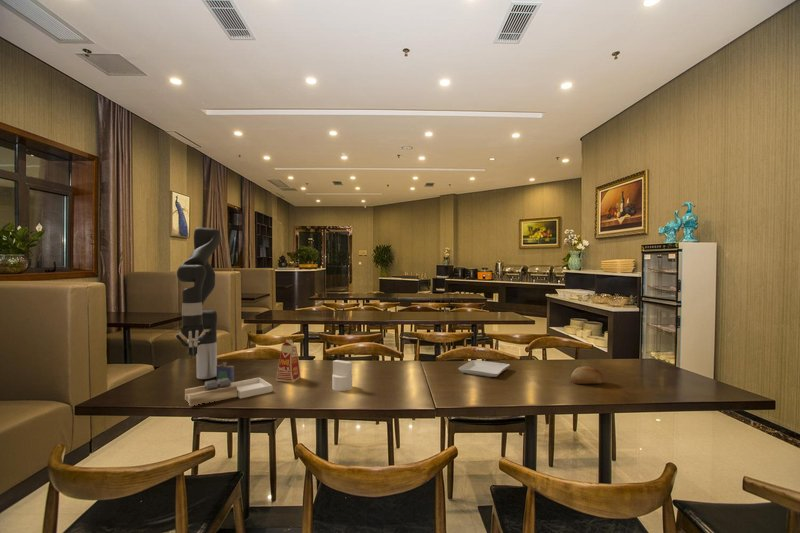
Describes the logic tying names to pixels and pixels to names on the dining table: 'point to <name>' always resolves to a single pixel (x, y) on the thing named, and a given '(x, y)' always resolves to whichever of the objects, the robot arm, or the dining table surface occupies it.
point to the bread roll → (586, 375)
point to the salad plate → (483, 368)
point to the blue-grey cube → (223, 383)
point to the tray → (252, 387)
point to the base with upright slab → (342, 375)
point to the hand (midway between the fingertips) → (192, 355)
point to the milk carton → (288, 363)
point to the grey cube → (211, 385)
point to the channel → (209, 394)
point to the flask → (225, 372)
